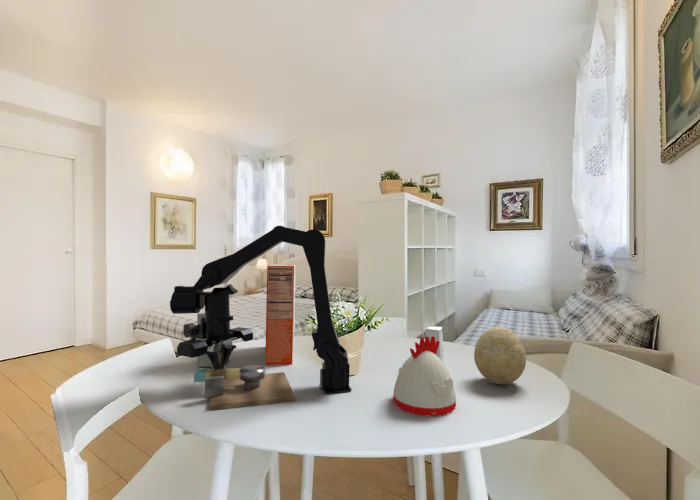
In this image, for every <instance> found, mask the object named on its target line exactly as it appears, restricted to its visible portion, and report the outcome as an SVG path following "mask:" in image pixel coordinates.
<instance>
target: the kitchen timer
mask: <svg viewBox="0 0 700 500" xmlns="http://www.w3.org/2000/svg"><path fill="white" fill-rule="evenodd" d="M439 343H440V342H439V341H436V343H435V337H433V336H432V337H431V341H429V337H427V336H426V335H425V337H422V336H420V338H419V343H418V342H417V341H416V342H414V347H415V350H414V349H413V348H411V347H410V348H409V351H410V355H409V357H408V358H407V359H406V360H405V362H404V363H402V366H401V367H399V368H398V374H397V376H396V381H395V382H394V388H393V395H392V396H393V399H392V400H393V404H394V405H395V406H396V407H397V408H398V409H399V410H402V411H403V412H406V413H409V414H412V413H413V415H417V414H418V415H417V416H423V415H441V416H443V415H442V414H446V415H448V414H447V413H449V412H451V411H453V410H454V409H455V410H456V408H455V407H456V405H457V404H456V403H457V396H456V395H457V394H456V391H455V387H454V380H453V379H452V377H451V374H450V372H449V370H448V368H447V367H446V365H445V364H444V361H443V362H442V361H441V360H440V358H439V357H438V356H436V353H437V350H438V347H439ZM455 410H454V411H455ZM454 411H453V412H454ZM451 413H452V412H451ZM449 414H450V413H449Z"/></svg>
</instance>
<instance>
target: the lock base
mask: <svg viewBox="0 0 700 500" xmlns="http://www.w3.org/2000/svg"><path fill="white" fill-rule="evenodd" d="M203 393H204V394H203V398H210V405H209V410H210V411H213V410H215V411H216V410H222V409H223V410H224V409H232V408H233V409H234V408H243V407H251V406H261V405H268V404H277V403H287V402H295V401H296V396H295V393H294V391H293V389H292V386H291V385H290V382H289V380H288V377H287V376H286V373H285V371H282V372H271V373H265V377H264V378H263V379H261V380H257V381H242V380H240V379H230V380H224V376H213V377H205V382H204V392H203Z"/></svg>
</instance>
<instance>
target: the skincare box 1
mask: <svg viewBox="0 0 700 500" xmlns="http://www.w3.org/2000/svg"><path fill="white" fill-rule="evenodd" d="M196 314H197V315H196V316H197V318H196V319H197V322H196V323H197V324H196V325H199V324H201V319H202V317H205V311H203V312H199V313H196ZM196 340H202V341H204V340H206V339H199V338H197V339H196ZM214 342H215V341H214ZM212 343H213V342H212ZM230 360H231V356H230V357H229V359H228V361H227V363H228V362H229V361H230ZM196 361H197V362H196V364H197V367H204V368H213V365H212V363H211V361H210V359H209V357H208V356H207V354H204V355H201V356H198V357H196Z"/></svg>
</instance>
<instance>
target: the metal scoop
mask: <svg viewBox="0 0 700 500" xmlns="http://www.w3.org/2000/svg"><path fill="white" fill-rule="evenodd" d="M265 367H266V366H263V365H257V364H253V365H252V364H251V365H245V366H242V367H237V368H224V369H214V368H212V369H211V368H210V369H208V368H209V367H206V368H197V369H195V371H194V373H193V383H205V377H213V376H224V380H230V379H240V380H242V381H257V380H261V379H263V378H264V377H265V374H266V368H265Z"/></svg>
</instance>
